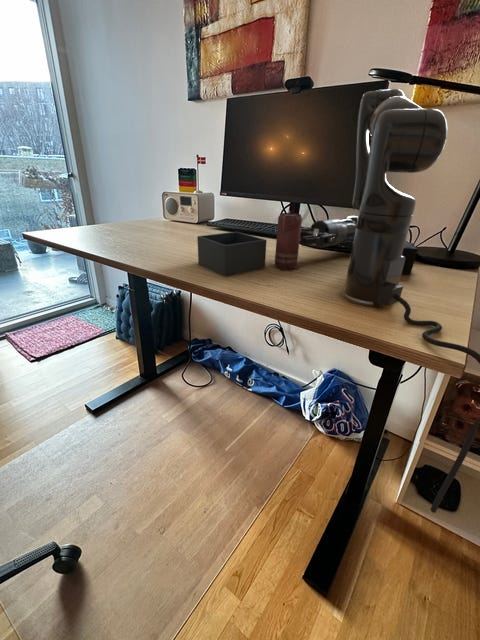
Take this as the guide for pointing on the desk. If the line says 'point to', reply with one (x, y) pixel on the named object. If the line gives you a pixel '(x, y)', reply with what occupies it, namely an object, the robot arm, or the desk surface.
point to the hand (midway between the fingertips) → (290, 238)
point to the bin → (231, 252)
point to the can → (287, 240)
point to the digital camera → (409, 257)
